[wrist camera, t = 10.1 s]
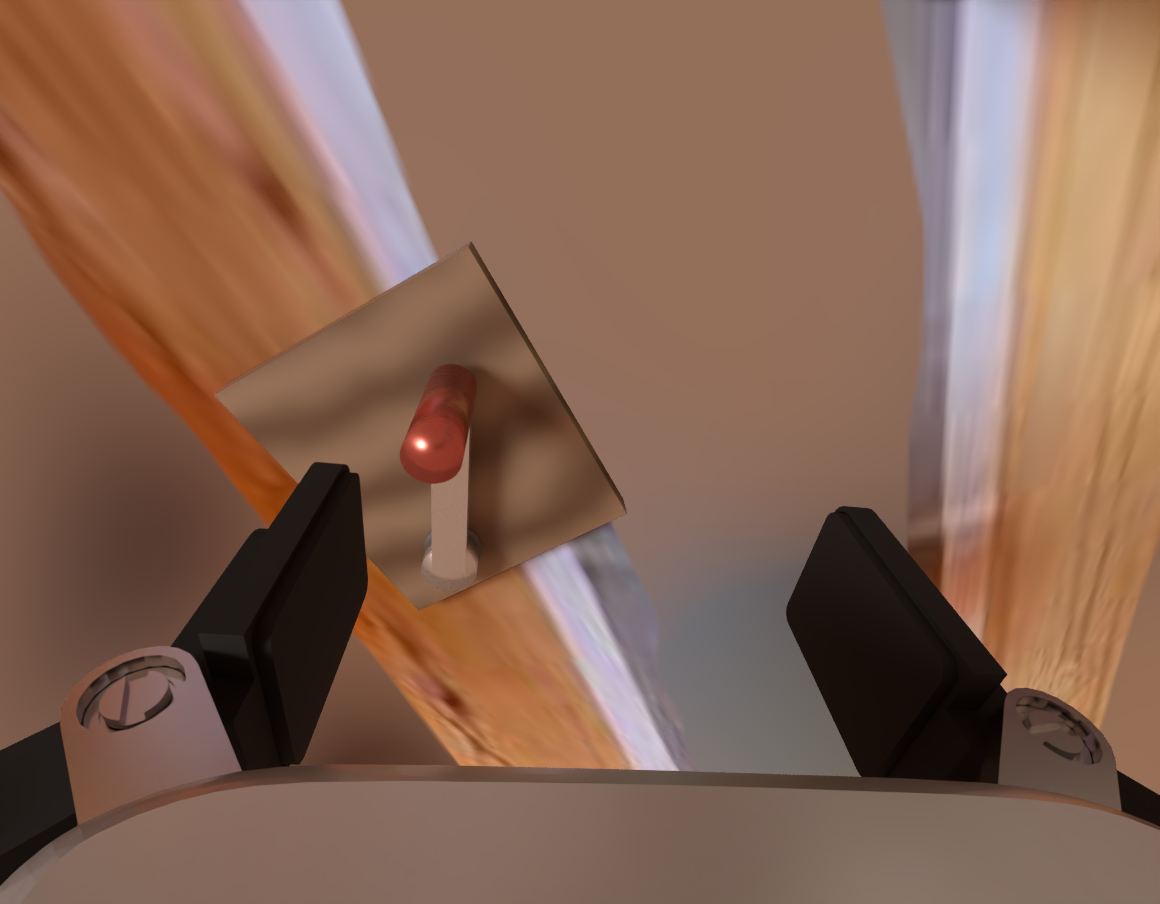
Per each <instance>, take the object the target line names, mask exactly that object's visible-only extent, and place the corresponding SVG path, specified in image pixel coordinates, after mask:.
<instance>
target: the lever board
mask: <svg viewBox="0 0 1160 904" xmlns="http://www.w3.org/2000/svg"><path fill="white" fill-rule="evenodd" d="M446 364H457V365H460V366H463V367H464V368H466V369H467V370H469V371H470V372H471V373H472V374H473V376H474V378H475V380H476V383H477V393H476V398H475V403H474V408H473V413H472V429H471V464H470V498H469V532H468V535H469V536H470V537H471V538H473V539H474V540H475V542H476V543H477V545H478V548H479V559H478V567H477V575H476V578H475V580H474V582H473V583H472V584H471V585H470V586H473V585H475V584H477V583H479V582H481V581H483V580H485V579H488V578H490V577H492V576H494V575H496V574H498V573H500V572H503V571H505V570H507V569H509V568H511V567H513V566H516V565H518V564H520V563H522V562H524V561H526V560H528V559H531V558H533V557H535V556H537V555H539V554H541V553H543V552H546V551H548V550H550V549H552V548H554V547H556V546H558V545H561V544H563V543H565V542H567V541H569V540H571V539H573V538H576V537H578V536H580V535H582V534H584V533H586V532H588V531H591V530H593V529H595V528H597V527H599V526H601V525H603V524H606V523H608V522H610V521H612V520H614V519H616V518H618V517H620V516H623V515H625V514H627V512H626V508H625V504H624V501H623V498H622V497H621V495H620V493H619V491H618V490H617V488H616V486H615V484H614V483H613V481H612V479H611V478H610V476H609V474H608V473H607V471H606V469H605V467H604V466H603V464H602V462H601V461H600V459H599V457H598V456H597V454H596V452H595V451H594V449H593V447H592V445H591V444H590V442H589V440H588V439H587V437H586V435H585V434H584V432H583V430H582V429H581V427H580V425H579V423H578V422H577V420H576V419H575V417H574V415H573V413H572V412H571V410H570V408H569V406H568V405H567V403H566V401H565V400H564V398H563V396H562V395H561V393H560V391H559V390H558V388H557V386H556V384H555V383H554V381H553V379H552V378H551V376H550V374H549V373H548V371H547V369H546V368H545V366H544V364H543V362H542V361H541V359H540V357H539V356H538V354H537V352H536V350H535V349H534V347H533V345H532V344H531V342H530V340H529V339H528V337H527V335H526V334H525V332H524V330H523V328H522V327H521V325H520V323H519V322H518V320H517V318H516V317H515V315H514V313H513V311H512V310H511V308H510V307H509V305H508V303H507V301H506V300H505V298H504V296H503V294H502V293H501V291H500V289H499V288H498V286H497V284H496V283H495V281H494V279H493V278H492V276H491V274H490V272H489V271H488V269H487V267H486V266H485V264H484V262H483V261H482V259H481V257H480V256H479V254H478V252H477V250H476V249H475V247H474V245H473V244H472V242H470V243H468V244H466V245H465V246H463V247H461V248H459V249H458V250H456V251H454V252H453V253H451V254H449V255H447V256H446V257H444V258H442V259H441V260H439V261H437V262H435V263H434V264H432V265H430V266H429V267H427V268H425V269H423V270H422V271H420V272H418V273H417V274H415V275H413V276H411V277H410V278H408V279H406V280H405V281H403V282H401V283H399V284H398V285H396V286H394V287H393V288H391V289H389V290H387V291H386V292H384V293H382V294H381V295H379V296H377V297H375V298H374V299H372V300H370V301H369V302H367V303H365V304H363V305H362V306H360V307H358V308H357V309H355V310H353V311H351V312H350V313H348V314H346V315H345V316H343V317H341V318H339V319H338V320H336V321H334V322H333V323H331V324H329V325H327V326H326V327H324V328H322V329H321V330H319V331H317V332H315V333H314V334H312V335H310V336H309V337H307V338H305V339H303V340H302V341H300V342H298V343H297V344H295V345H293V346H291V347H290V348H288V349H286V350H285V351H283V352H281V353H279V354H278V355H276V356H274V357H273V358H271V359H269V360H267V361H266V362H264V363H262V364H261V365H259V366H257V367H255V368H254V369H252V370H250V371H249V372H247V373H245V374H243V375H242V376H240V377H238V378H237V379H235V380H233V381H231V382H230V383H228V384H227V385H226V386H225V387H223V388H222V389H221V390H220V391H218V392H217V393H216V394H215V396H216V398H217V399H218V400H219V401H220V402H221V403H222V404H223V405H224V406H225V407H226V408H227V409H228V410H229V411H230V412H231V413H232V414H233V415H234V416H235V418H236V419H237V420H238V421H239V422H240V423H241V424H242V425H243V426H244V427H245V428H246V429H247V430H248V431H249V432H250V433H251V434H252V435H253V436H254V438H255V439H256V440H257V441H258V442H259V443H260V444H261V445H262V446H263V447H264V448H265V449H266V450H267V451H268V452H269V453H270V454H271V455H272V456H273V458H274V459H275V460H276V461H277V462H278V463H279V464H280V465H281V466H282V467H283V468H284V469H285V470H286V471H287V472H288V473H289V474H290V475H291V476H292V478H293V479H294V480H295V481H296V482H297V483H298V484H299V483H300V481H301V480H302V478H303V477H304V475H305V474H306V472H307V471H308V469H309V468H310V466H311V465H312V464H313V463H314V462H325V463H336V464H346V465H348V467H349V469H350V472H352V473H358V474H359V478H360V488H361V500H362V512H363V525H364V537H365V549H366V555H367V557H368V558H369V559H370V560H371V561H372V562H373V563H374V564H375V565H376V566H377V567H378V568H379V569H380V570H381V571H382V572H383V573H384V574H385V575H386V577H387V578H388V579H389V580H390V581H391V582H392V583H393V584H394V585H395V586H396V587H397V588H398V589H399V590H400V591H401V592H402V593H403V594H404V595H405V597H406V598H407V599H408V600H409V601H410V602H411V603H412V604H413V605H414V606H415V607H416V608H417V609H418V610H421V609H423V608H425V607H428V606H430V605H432V604H434V603H436V602H438V601H440V600H443V599H445V598H447V597H449V596H451V595H453V594H455V593H458V592H460V591H462V590H460V591H455V592H445V591H440V590H437V589H435V588H433V587H431V586H430V585H428V584H427V583H426V582H425V580H424V579H423V577H422V574H421V566H422V562H423V558H424V554H425V550H426V545H427V543H428V541H429V540H430V539H431V538H432V524H431V484H429V483H424V482H421V481H418V480H416V479H415V478H413V477H412V476H410V475H409V474H408V473H407V472H406V471H405V469H404V468H403V466H402V464H401V461H400V449H401V446H402V444H403V441H404V439H405V436H406V434H407V432H408V429H409V427H410V424H411V422H412V419H413V417H414V415H415V412H416V410H417V407H418V405H419V402H420V400H421V397H422V395H423V393H424V390H425V388H426V385H427V383H428V380H429V378H430V376H431V374H432V373H433V371H434V370H435V369H437V368H438V367H440V366H442V365H446ZM470 586H468V587H470ZM468 587H467V588H468ZM465 589H466V588H465ZM463 590H464V589H463Z"/></svg>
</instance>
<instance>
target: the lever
mask: <svg viewBox="0 0 1160 904" xmlns="http://www.w3.org/2000/svg"><path fill="white" fill-rule="evenodd" d="M476 393H477V383H476V380H475V378H474V376H473V374H472V373H471V372H470V371H469V370H467V369H466V368H464V367H463V366H460V365H457V364H446V365H442V366H440V367H438V368H437V369H435V370H434V371H433V373H432V374H431V376H430V378H429V380H428V383H427V385H426V388H425V390H424V393H423V395H422V397H421V400H420V402H419V405H418V407H417V410H416V412H415V415H414V417H413V419H412V422H411V424H410V427H409V429H408V432H407V434H406V436H405V439H404V441H403V444H402V446H401V449H400V461H401V464H402V466H403V468H404V469H405V471H406V472H407V473H408V474H409V475H410V476H412V477H413V478H415V479H416V480H418V481H421V482H424V483H429V484H431V524H432V538H431V539H430V540H429V541H428V543H427V545H426V550H425V554H424V558H423V562H422V566H421V574H422V577H423V579H424V580H425V582H426V583H427V584H428V585H430V586H431V587H433V588H435V589H437V590H440V591H445V592H455V591H460V590H463V589H465V588H467V587H468V586H470V585H471V584H472V583H473V582H474V580H475V578H476V575H477V567H478V559H479V548H478V545H477V543H476V542H475V540H474V539H473V538H471V537H470V536H469V535H468V532H469V498H470V464H471V429H472V413H473V408H474V403H475V398H476Z"/></svg>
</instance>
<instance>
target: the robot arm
mask: <svg viewBox="0 0 1160 904" xmlns="http://www.w3.org/2000/svg"><path fill="white" fill-rule="evenodd" d="M367 585H368V574H367V562H366V549H365V537H364V525H363V512H362V500H361V488H360V478H359V474H358V473H352V472H350V469H349V467H348V465H346V464H336V463H325V462H314V463H313V464H312V465H311V466H310V468H309V469H308V471H307V472H306V474H305V475H304V477H303V478H302V480H301V481H300V483H299V484H298V486H297V487H296V488H295V490H294V491H293V493H292V494H291V496H290V497H289V499H288V500H287V502H286V503H285V505H284V506H283V508H282V509H281V511H280V512H279V514H278V515H277V517H276V518H275V520H274V521H273V522H272V524H271V525H270V527H269V528H268V529H257V530H255V531H254V532H253V533H252V534H251V535H250V536H249V537H248V539H247V540H246V541H245V543H244V544H243V546H242V547H241V548H240V550H239V551H238V553H237V554H236V555H235V557H234V558H233V560H232V561H231V563H230V564H229V565H228V567H227V568H226V569H225V571H224V572H223V574H222V575H221V576H220V578H219V579H218V581H217V582H216V584H215V585H214V586H213V588H212V589H211V591H210V592H209V594H208V595H207V596H206V598H205V599H204V601H203V602H202V603H201V605H200V606H199V608H198V609H197V610H196V612H195V613H194V615H193V616H192V617H191V619H190V620H189V622H188V623H187V624H186V626H185V627H184V629H183V630H182V632H181V633H180V634H179V636H178V637H177V638H176V640H175V641H174V643H173V644H172V646H171V647H166V646H157V647H148V648H141V649H138V650H135V651H132V652H129V653H125V654H122V655H120V656H118V657H116V658H114V659H112V660H110V661H108V662H106V663H104V664H102V665H100V666H99V667H98V668H96V669H95V670H94V671H92V672H91V673H89V674H88V675H86V676H85V677H84V678H83V679H82V680H81V681H80V682H79V683H78V684H77V685H76V686H75V687H74V689H72V691H71V692H70V693H69V695H68V696H67V698H66V700H65V702H64V704H63V706H62V708H61V715H60V722H58V723H56V724H54V725H52V726H50V727H48V728H46V729H44V730H42V731H40V732H38V733H35V734H33V735H31V736H29V737H27V738H25V739H23V740H21V741H19V742H17V743H15V744H13V745H11V746H9V747H7V748H5V749H2V750H0V904H1160V795H1158V794H1157V793H1155V792H1153V791H1151V790H1150V789H1148V788H1146V787H1144V786H1143V785H1141V784H1139V783H1138V782H1136V781H1135V780H1133V779H1131V778H1129V777H1128V776H1126V775H1124V774H1122V773H1121V772H1119V771H1117V769H1116V761H1115V757H1114V754H1113V751H1112V748H1111V746H1110V744H1109V743H1108V741H1107V740H1106V739H1105V737H1104V735H1103V734H1102V733H1101V732H1100V731H1099V730H1098V729H1097V728H1096V727H1095V726H1094V724H1093V723H1092V722H1091V721H1090V720H1089V719H1087V718H1086V717H1085V716H1084V715H1082V714H1081V713H1080V712H1078V711H1077V710H1076V709H1075V708H1073V707H1072V706H1070V705H1068V704H1067V703H1065V702H1063V701H1062V700H1060V699H1058V698H1056V697H1054V696H1052V695H1049V694H1047V693H1044V692H1042V691H1038V690H1034V689H1030V688H1015V689H1013V690H1012V691H1010V692H1008V693H1006V691H1005V690H1004V689H1003V688H1002V686H1001V685H1000V683H1001V682H1002V681H1003V679H1004V678H1005V677H1006V676H1007V673H1006V672H1005V671H1004V670H1003V669H1002V667H1001V666H1000V665H999V664H998V662H997V661H996V660H995V659H994V658H993V656H992V655H991V654H990V653H989V651H988V650H987V649H986V648H985V647H984V645H983V644H982V643H981V642H980V640H979V639H978V638H977V637H976V636H975V634H974V633H973V632H972V631H971V629H970V628H969V627H968V626H967V625H966V623H965V622H964V621H963V620H962V618H961V617H960V616H959V615H958V613H957V612H956V611H955V610H954V609H953V607H952V606H951V605H950V604H949V602H948V601H947V600H946V599H945V598H944V596H943V595H942V594H941V593H940V591H939V590H938V589H937V588H936V587H935V585H934V584H933V583H932V582H931V580H930V579H929V578H928V577H927V576H926V574H925V573H924V572H923V571H922V569H921V568H920V567H919V566H918V564H917V563H916V562H915V561H914V560H913V558H912V557H911V556H910V555H909V553H908V552H907V551H906V550H905V549H904V547H903V546H902V545H901V544H900V542H899V541H898V540H897V539H896V538H895V536H894V535H893V534H892V533H891V532H890V530H889V529H888V528H887V527H886V525H885V524H884V523H883V522H882V520H881V519H880V518H879V517H878V516H877V514H876V513H875V512H874V511H873V510H872V509H868V508H859V507H847V506H842V507H839V508H838V509H837V510H836V511H835V512H833V513H830V514H829V515H828V516H827V518H826V520H825V522H824V524H823V527H822V529H821V531H820V533H819V536H818V538H817V540H816V543H815V544H814V547H813V549H812V551H811V553H810V556H809V558H808V560H807V562H806V565H805V567H804V569H803V571H802V573H801V576H800V578H799V580H798V582H797V584H796V587H795V589H794V591H793V593H792V596H791V598H790V600H789V602H788V605H787V609H786V616H787V621H788V624H789V626H790V628H791V630H792V632H793V634H794V637H795V638H796V641H797V643H798V645H799V647H800V649H801V651H802V653H803V656H804V658H805V660H806V662H807V664H808V666H809V669H810V671H811V673H812V675H813V677H814V679H815V681H816V683H817V686H818V688H819V690H820V692H821V694H822V696H823V698H824V700H825V703H826V705H827V707H828V709H829V711H830V713H831V715H832V717H833V720H834V722H835V724H836V726H837V728H838V730H839V732H840V735H841V737H842V739H843V741H844V743H845V745H846V747H847V750H848V752H849V754H850V756H851V758H852V760H853V762H854V764H855V767H856V769H857V771H858V772H859V774H860V775H861V777H847V776H818V775H816V776H815V775H788V774H758V773H725V772H691V771H655V770H619V769H581V768H537V767H493V766H448V765H314V766H290V764H295V765H297V764H300V763H301V761H302V760H303V758H304V756H305V753H306V751H307V748H308V746H309V743H310V740H311V738H312V735H313V733H314V730H315V727H316V725H317V722H318V719H319V717H320V714H321V712H322V709H323V706H324V704H325V701H326V698H327V696H328V693H329V691H330V688H331V685H332V683H333V680H334V677H335V675H336V672H337V669H338V667H339V664H340V662H341V659H342V656H343V654H344V651H345V649H346V646H347V643H348V641H349V638H350V635H351V633H352V630H353V628H354V625H355V622H356V620H357V617H358V614H359V612H360V609H361V606H362V604H363V601H364V599H365V595H366V591H367Z"/></svg>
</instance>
